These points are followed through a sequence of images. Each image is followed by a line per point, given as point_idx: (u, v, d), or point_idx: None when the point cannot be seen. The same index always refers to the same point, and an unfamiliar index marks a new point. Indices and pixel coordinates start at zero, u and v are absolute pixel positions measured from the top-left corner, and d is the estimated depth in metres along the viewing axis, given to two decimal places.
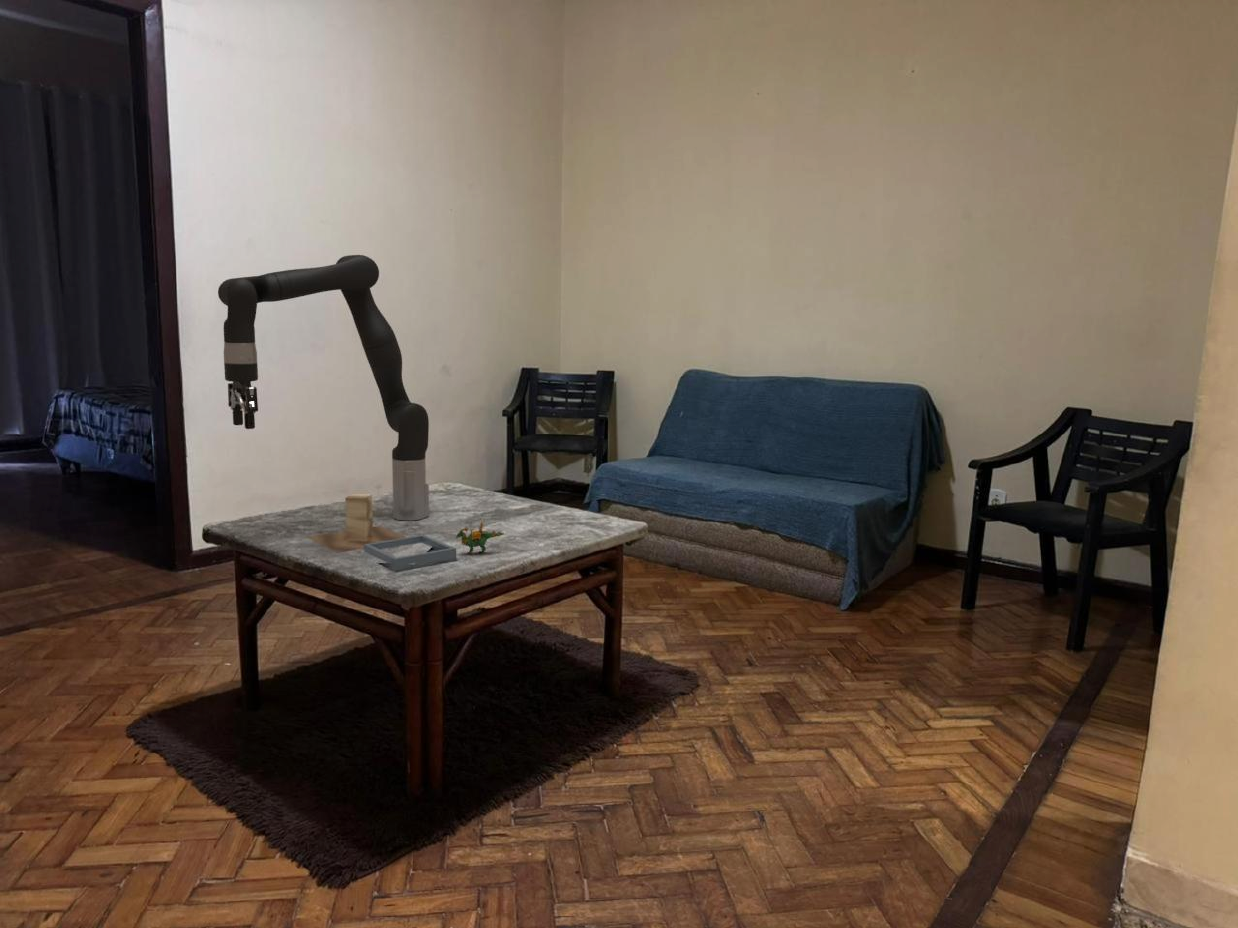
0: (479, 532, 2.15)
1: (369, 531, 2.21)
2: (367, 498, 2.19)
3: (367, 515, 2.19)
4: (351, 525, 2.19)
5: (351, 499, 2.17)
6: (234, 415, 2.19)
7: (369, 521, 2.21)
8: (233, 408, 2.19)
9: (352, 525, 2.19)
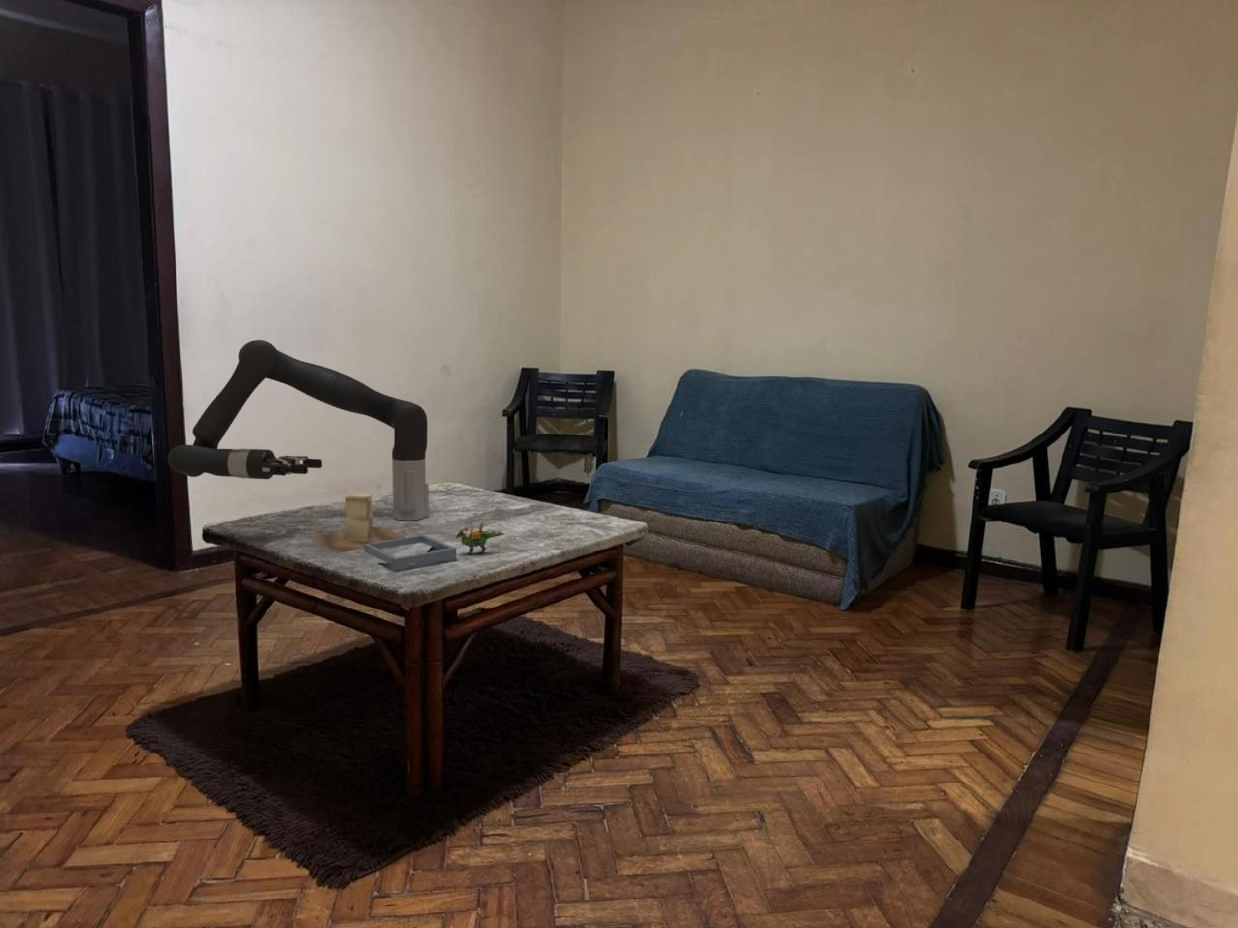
0: (479, 532, 2.15)
1: (369, 531, 2.21)
2: (367, 498, 2.19)
3: (367, 515, 2.19)
4: (351, 525, 2.19)
5: (351, 499, 2.17)
6: (311, 466, 2.23)
7: (369, 521, 2.21)
8: None
9: (352, 525, 2.19)
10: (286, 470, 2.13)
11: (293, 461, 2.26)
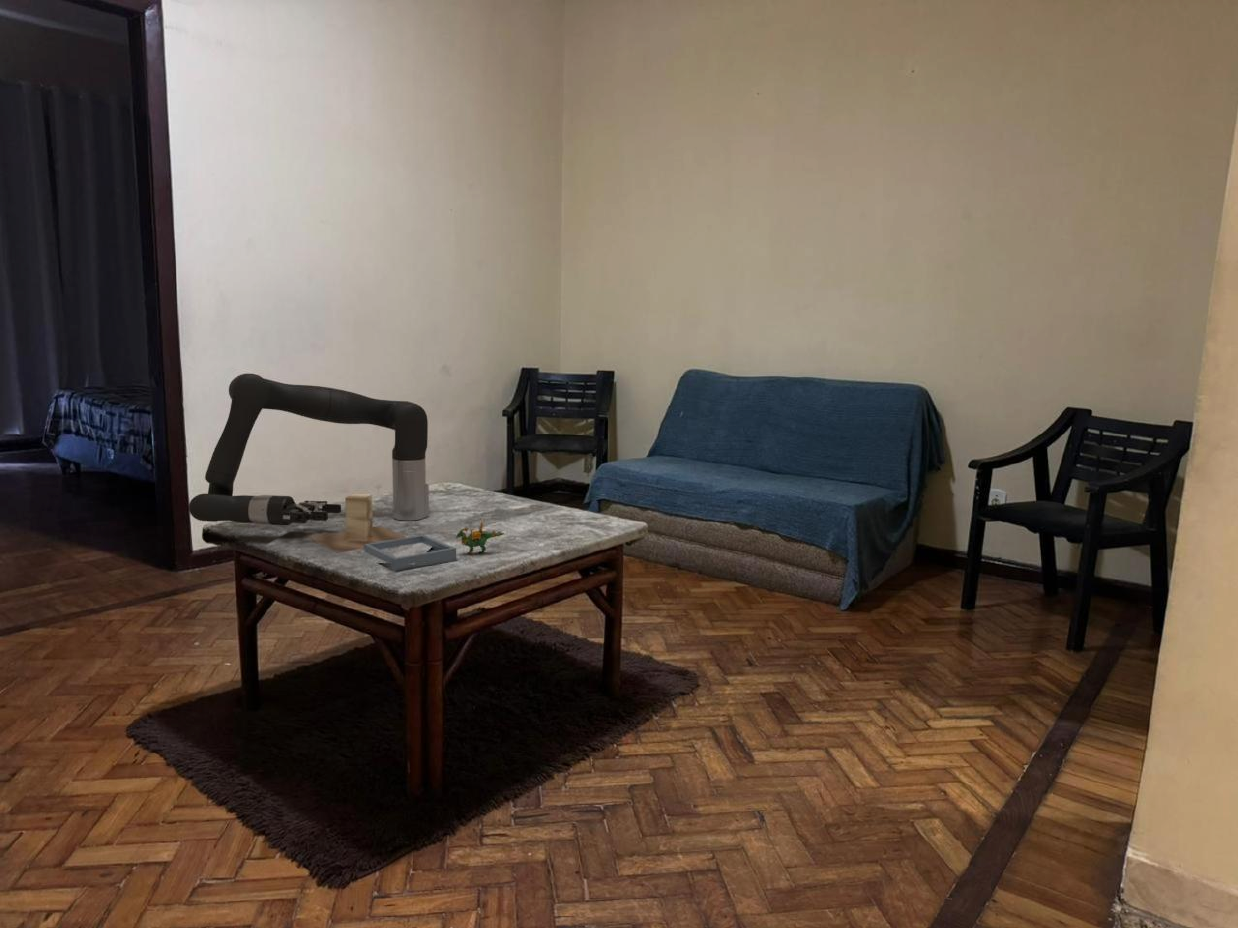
0: (479, 532, 2.15)
1: (369, 531, 2.21)
2: (367, 498, 2.19)
3: (367, 515, 2.19)
4: (351, 525, 2.19)
5: (351, 499, 2.17)
6: (330, 512, 2.25)
7: (369, 521, 2.21)
8: (324, 512, 2.25)
9: (352, 525, 2.19)
10: (306, 517, 2.15)
11: (312, 506, 2.28)
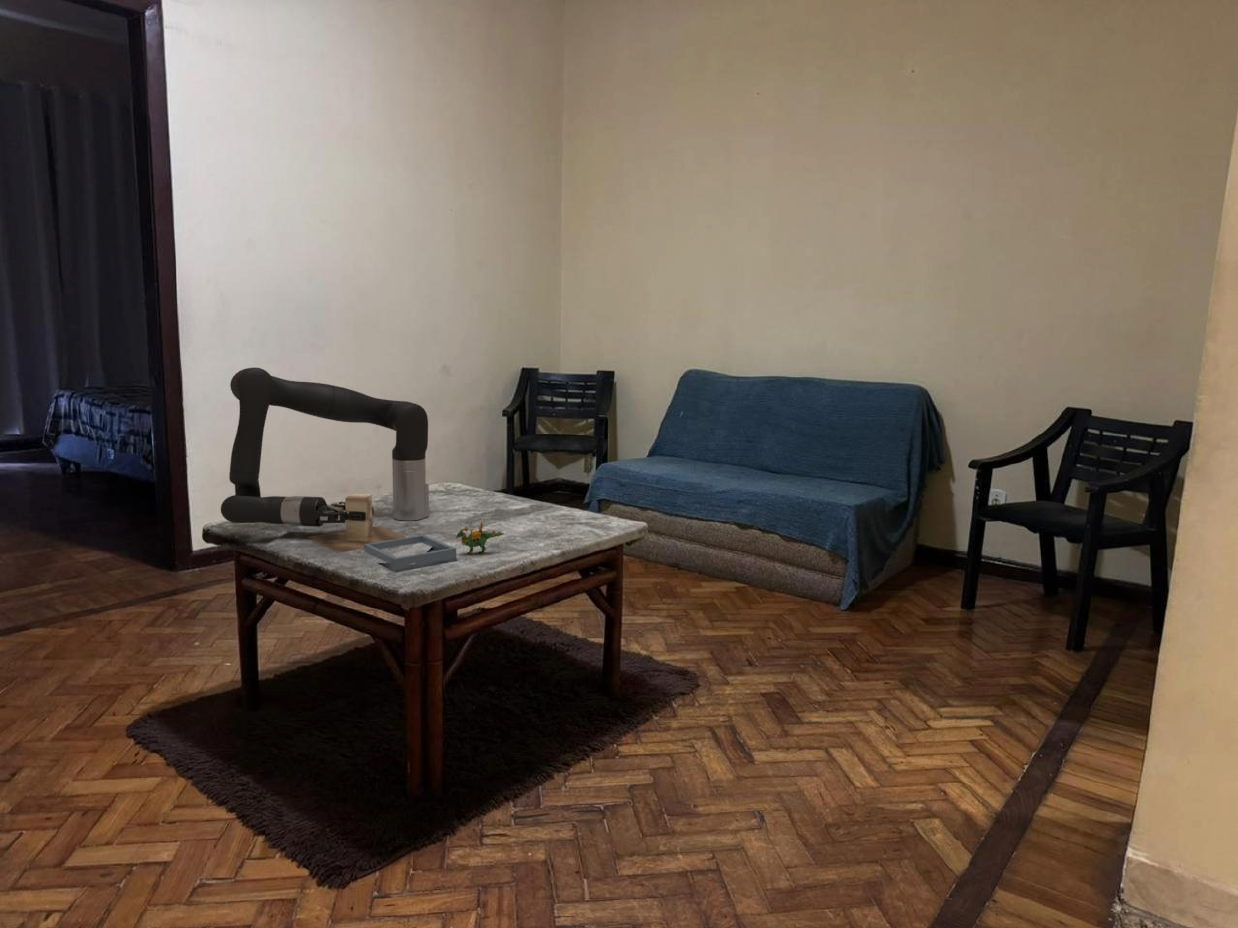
0: (479, 532, 2.15)
1: (369, 531, 2.21)
2: (367, 498, 2.19)
3: (367, 515, 2.19)
4: (351, 525, 2.19)
5: (351, 499, 2.17)
6: None
7: (369, 521, 2.21)
8: None
9: (352, 525, 2.19)
10: (345, 517, 2.16)
11: None
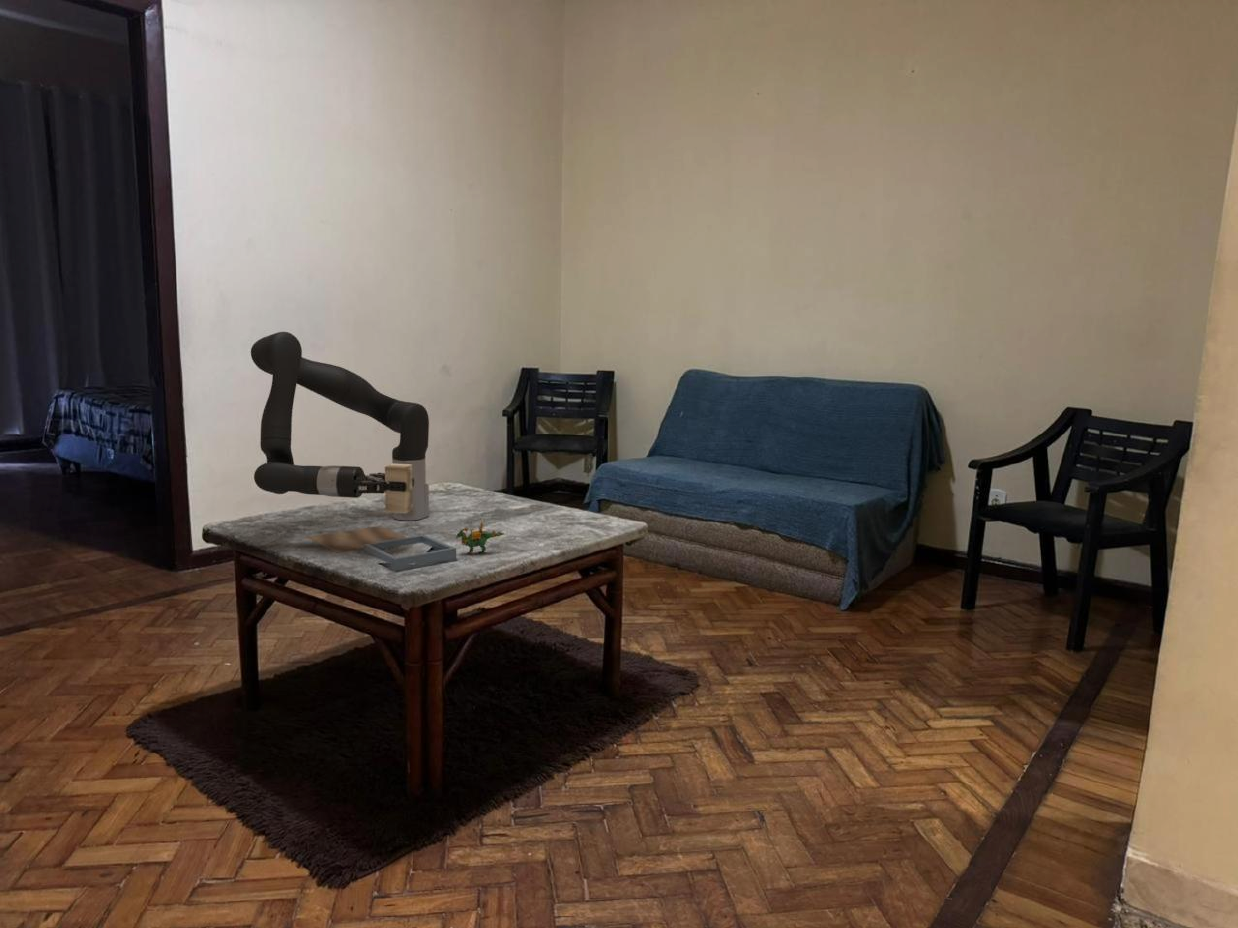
0: (479, 532, 2.15)
1: (409, 503, 2.10)
2: (408, 467, 2.07)
3: (407, 486, 2.07)
4: (391, 497, 2.07)
5: (391, 468, 2.06)
6: None
7: (409, 493, 2.09)
8: None
9: (391, 496, 2.07)
10: (385, 488, 2.04)
11: None
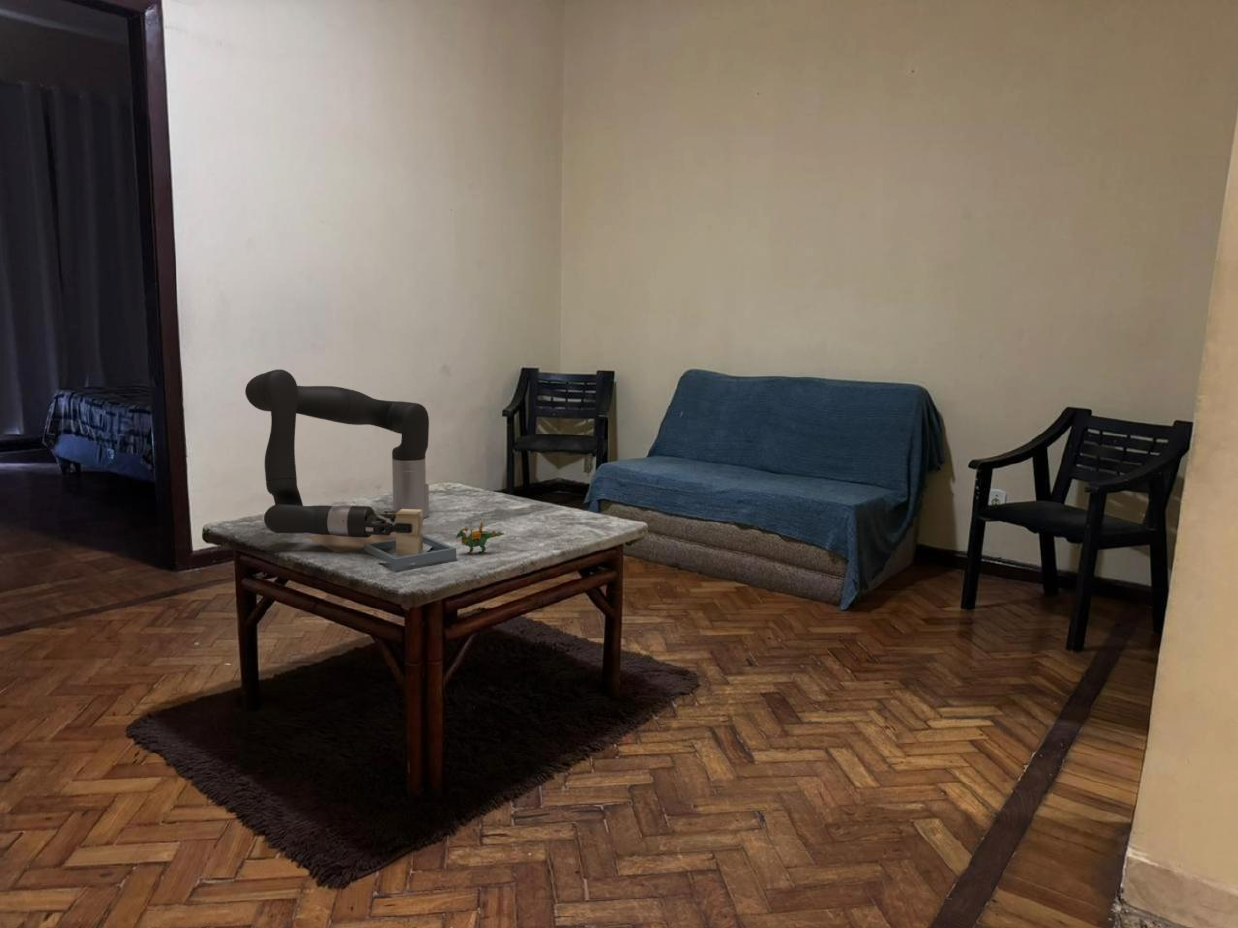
0: (479, 532, 2.15)
1: (420, 548, 2.10)
2: (418, 513, 2.08)
3: (418, 532, 2.08)
4: (402, 543, 2.07)
5: (402, 515, 2.06)
6: None
7: (419, 538, 2.09)
8: None
9: (402, 542, 2.07)
10: (391, 530, 2.03)
11: (392, 517, 2.16)
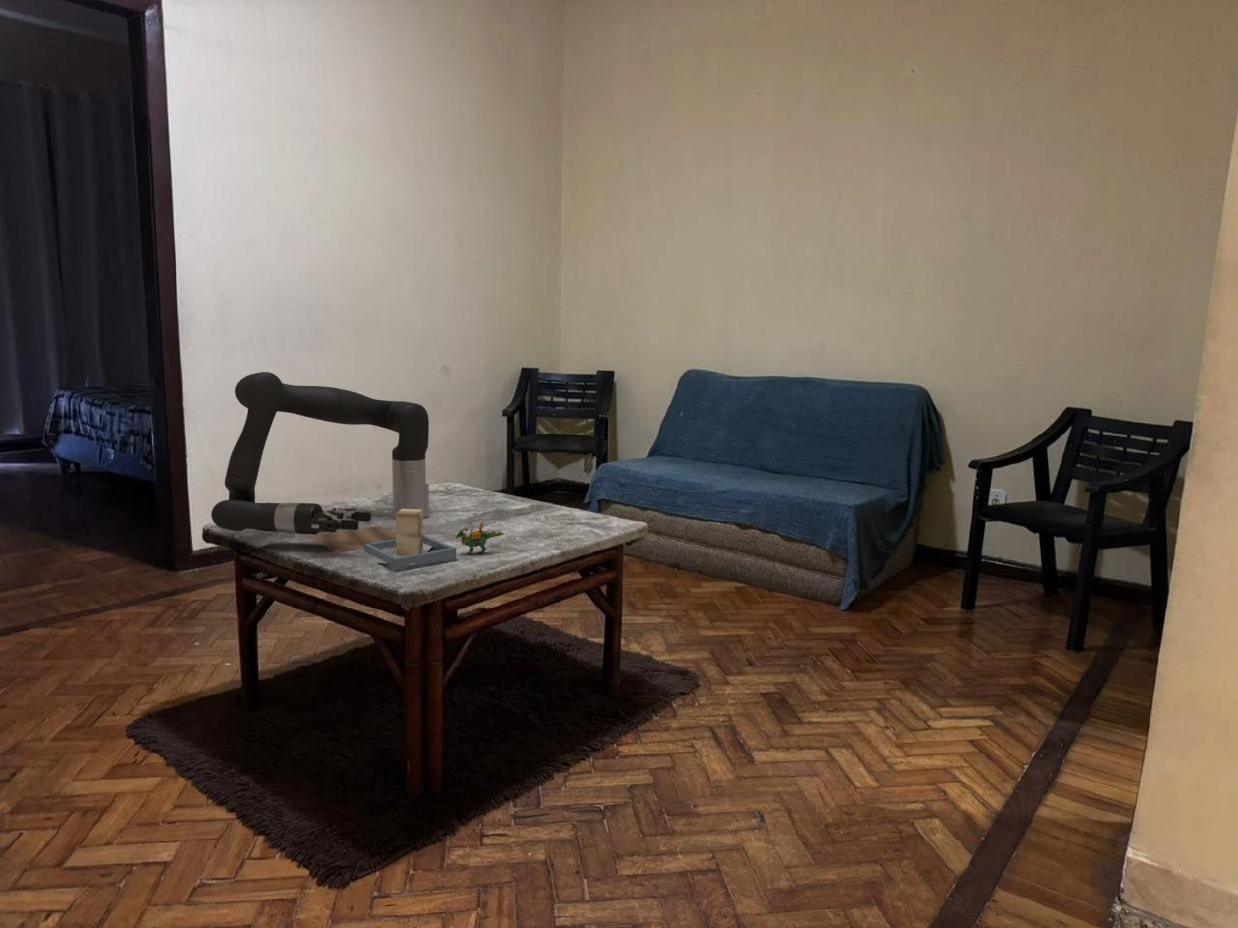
0: (479, 532, 2.15)
1: (420, 548, 2.10)
2: (418, 513, 2.08)
3: (418, 532, 2.08)
4: (402, 543, 2.07)
5: (402, 515, 2.06)
6: (360, 520, 2.14)
7: (419, 538, 2.09)
8: (353, 520, 2.14)
9: (402, 542, 2.07)
10: (336, 526, 2.04)
11: (341, 514, 2.17)
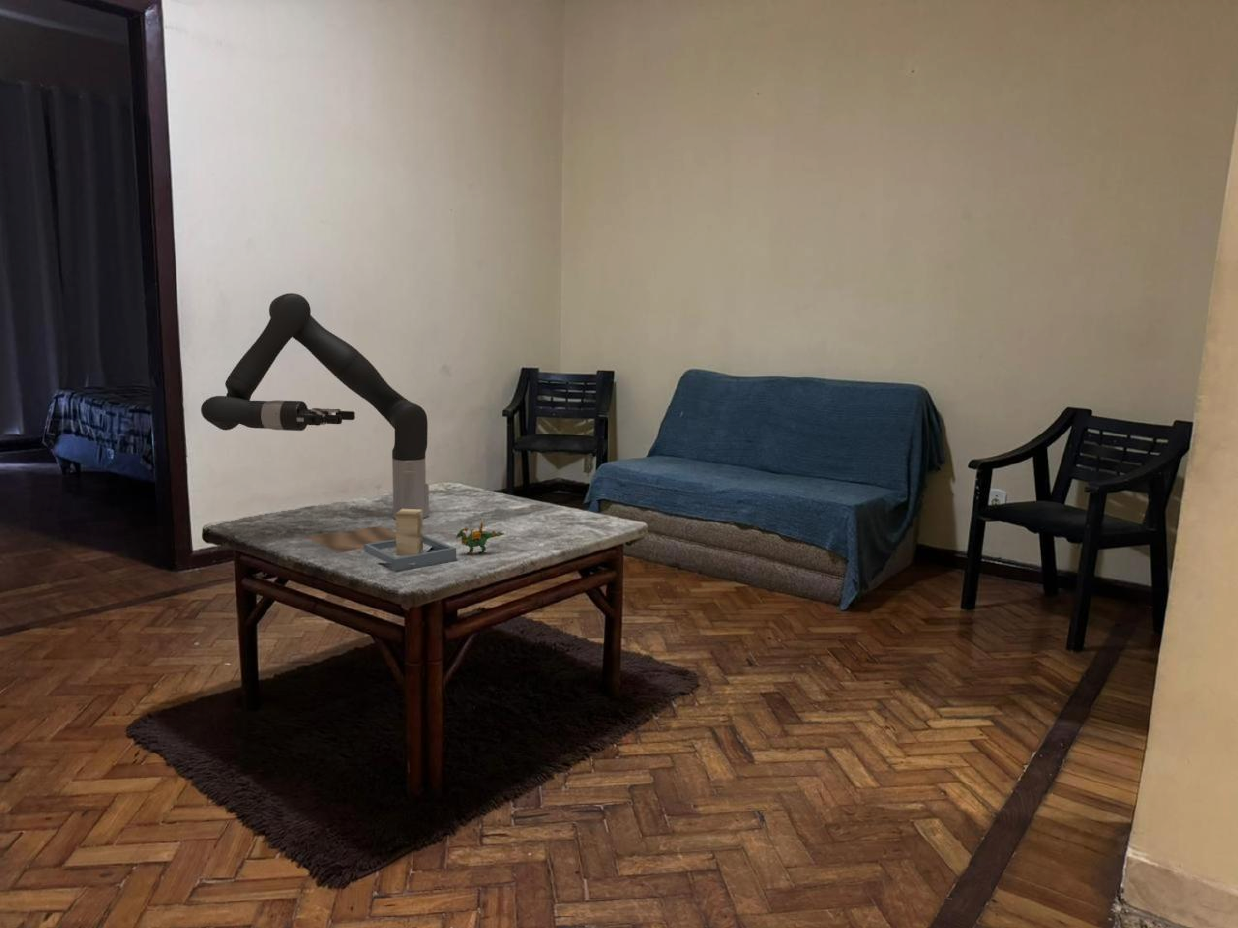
0: (479, 532, 2.15)
1: (420, 548, 2.10)
2: (418, 513, 2.08)
3: (418, 532, 2.08)
4: (402, 543, 2.07)
5: (402, 515, 2.06)
6: (344, 419, 2.23)
7: (419, 538, 2.09)
8: None
9: (402, 542, 2.07)
10: (320, 420, 2.13)
11: (325, 414, 2.25)
